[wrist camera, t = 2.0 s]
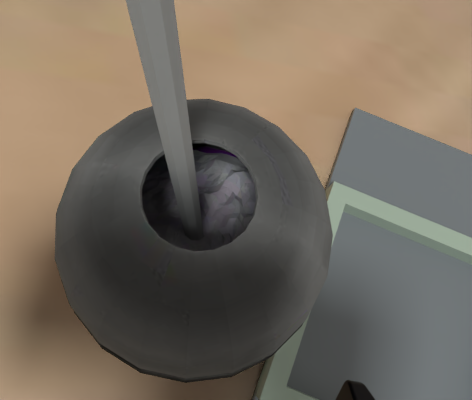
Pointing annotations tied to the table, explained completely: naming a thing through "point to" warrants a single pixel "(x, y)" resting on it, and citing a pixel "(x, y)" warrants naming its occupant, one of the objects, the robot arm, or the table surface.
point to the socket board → (388, 275)
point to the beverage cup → (191, 227)
